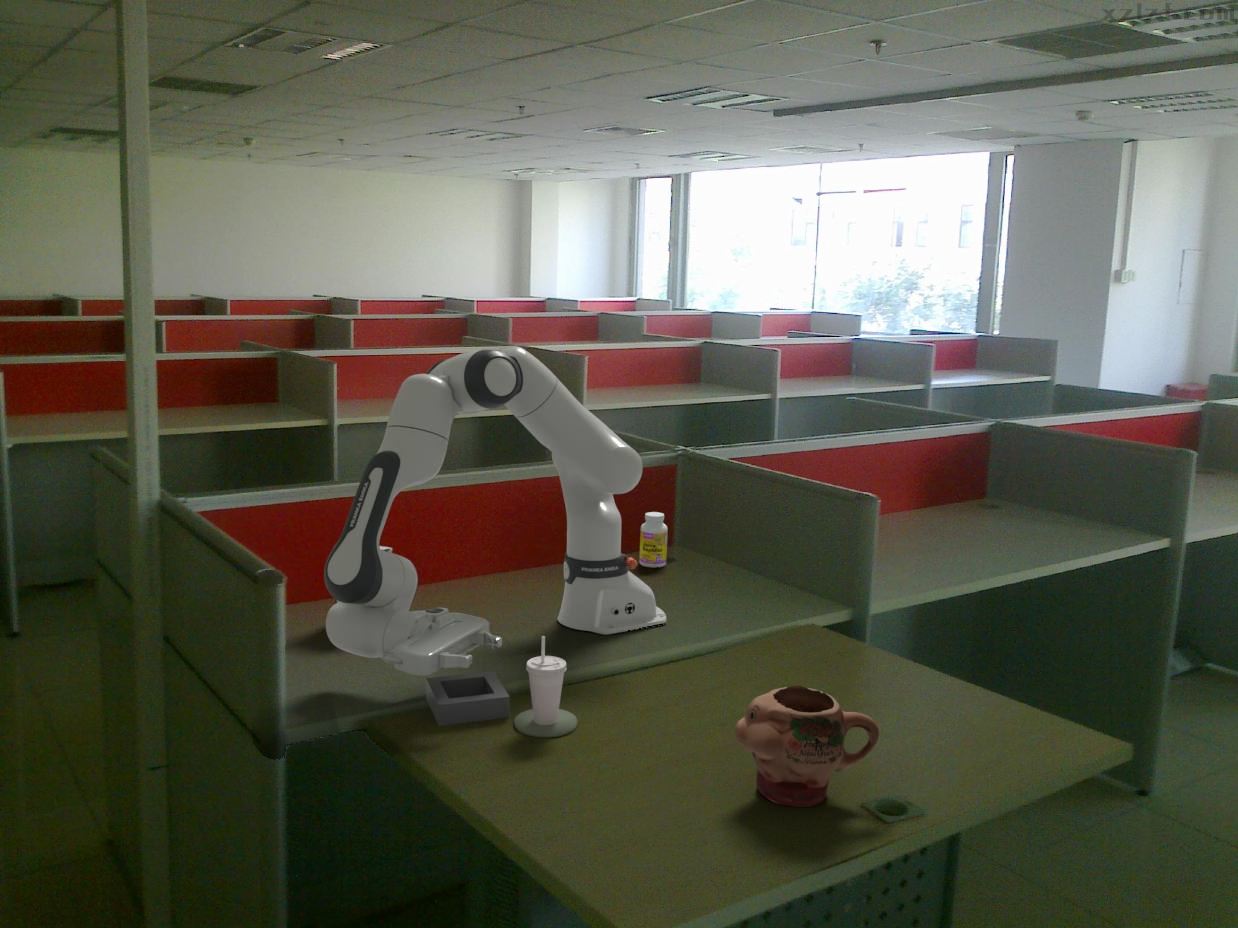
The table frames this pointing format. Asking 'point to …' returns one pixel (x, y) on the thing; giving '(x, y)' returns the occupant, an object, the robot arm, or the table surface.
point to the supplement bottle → (653, 541)
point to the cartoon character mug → (799, 742)
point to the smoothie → (545, 686)
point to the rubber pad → (560, 728)
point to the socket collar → (467, 698)
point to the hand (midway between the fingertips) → (485, 652)
